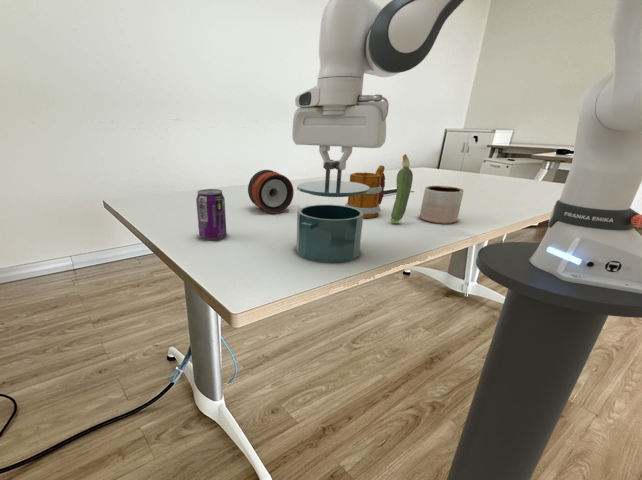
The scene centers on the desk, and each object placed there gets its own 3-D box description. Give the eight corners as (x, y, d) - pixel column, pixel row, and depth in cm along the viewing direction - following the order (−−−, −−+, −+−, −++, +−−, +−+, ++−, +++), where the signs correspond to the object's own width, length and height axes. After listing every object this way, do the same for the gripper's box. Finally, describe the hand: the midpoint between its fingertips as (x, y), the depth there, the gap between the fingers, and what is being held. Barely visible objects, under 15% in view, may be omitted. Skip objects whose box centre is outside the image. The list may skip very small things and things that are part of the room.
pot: (374, 246, 84) (379, 208, 80) (333, 272, 70) (336, 227, 66) (323, 235, 93) (325, 200, 89) (277, 255, 79) (277, 215, 75)
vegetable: (400, 221, 106) (411, 152, 97) (408, 225, 102) (420, 154, 93) (387, 222, 105) (397, 153, 96) (394, 226, 101) (405, 154, 93)
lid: (380, 190, 77) (384, 160, 74) (347, 202, 66) (350, 167, 63) (321, 183, 86) (322, 155, 83) (283, 192, 75) (283, 161, 72)
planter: (439, 214, 114) (445, 184, 110) (465, 222, 105) (472, 190, 101) (411, 216, 111) (417, 186, 107) (435, 225, 102) (442, 193, 98)
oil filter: (257, 215, 112) (256, 174, 106) (246, 207, 122) (245, 169, 117) (293, 212, 116) (294, 172, 110) (279, 204, 126) (280, 167, 121)
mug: (337, 214, 114) (341, 166, 108) (367, 206, 124) (372, 163, 117) (364, 220, 106) (370, 170, 100) (393, 212, 116) (400, 166, 110)
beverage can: (229, 239, 89) (226, 192, 84) (201, 242, 87) (197, 194, 82) (223, 232, 95) (221, 188, 90) (197, 234, 93) (193, 189, 88)
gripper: (396, 94, 64) (386, 171, 70) (305, 98, 76) (303, 164, 82) (383, 92, 60) (373, 174, 65) (288, 97, 71) (287, 166, 77)
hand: (334, 169), depth 74 cm, fingers closed on lid
